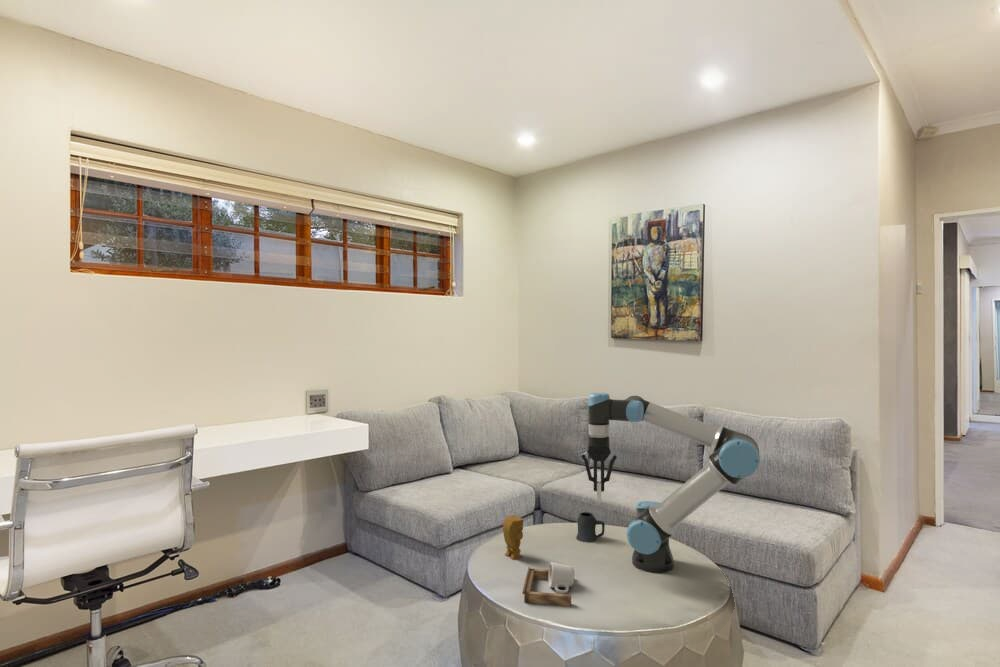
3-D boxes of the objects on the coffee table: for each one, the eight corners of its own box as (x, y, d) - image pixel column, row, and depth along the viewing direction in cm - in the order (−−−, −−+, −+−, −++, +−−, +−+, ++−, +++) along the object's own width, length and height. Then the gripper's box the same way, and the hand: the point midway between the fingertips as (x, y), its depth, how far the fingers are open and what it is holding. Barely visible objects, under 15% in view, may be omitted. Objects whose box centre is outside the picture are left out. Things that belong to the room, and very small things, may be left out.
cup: (577, 586, 181) (554, 584, 180) (573, 601, 184) (550, 600, 184) (573, 558, 190) (551, 557, 190) (569, 574, 194) (547, 572, 193)
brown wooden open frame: (572, 579, 193) (572, 569, 193) (571, 606, 174) (571, 595, 174) (528, 576, 196) (528, 566, 196) (522, 602, 177) (522, 591, 177)
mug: (574, 543, 226) (574, 516, 226) (576, 536, 235) (576, 510, 235) (603, 546, 223) (603, 519, 223) (605, 538, 232) (605, 512, 232)
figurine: (524, 557, 212) (524, 519, 212) (511, 561, 208) (511, 522, 208) (514, 552, 218) (514, 514, 218) (500, 555, 214) (500, 517, 214)
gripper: (616, 434, 202) (616, 497, 202) (580, 433, 204) (581, 496, 204) (617, 437, 195) (617, 504, 194) (580, 436, 197) (580, 502, 196)
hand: (598, 500), depth 199 cm, fingers closed
